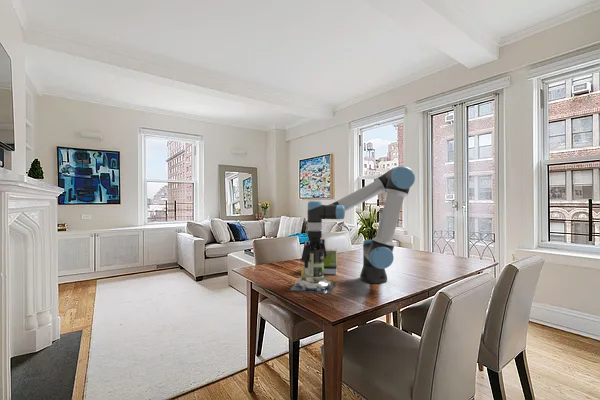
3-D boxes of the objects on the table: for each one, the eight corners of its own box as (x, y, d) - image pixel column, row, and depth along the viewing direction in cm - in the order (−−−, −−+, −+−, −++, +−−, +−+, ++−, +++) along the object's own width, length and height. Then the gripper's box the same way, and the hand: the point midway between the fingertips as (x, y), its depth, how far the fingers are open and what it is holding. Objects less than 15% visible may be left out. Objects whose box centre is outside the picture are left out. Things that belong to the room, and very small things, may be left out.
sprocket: (309, 277, 171) (309, 262, 171) (340, 283, 159) (340, 267, 159) (287, 286, 154) (287, 269, 154) (321, 293, 143) (321, 275, 142)
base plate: (336, 282, 164) (336, 281, 164) (330, 294, 144) (330, 293, 144) (300, 279, 170) (300, 278, 170) (289, 290, 150) (289, 289, 149)
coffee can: (325, 274, 161) (325, 248, 161) (322, 279, 151) (322, 251, 151) (306, 273, 163) (306, 247, 163) (302, 278, 153) (303, 250, 153)
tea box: (337, 271, 189) (337, 248, 189) (336, 275, 180) (336, 250, 179) (313, 270, 192) (313, 247, 192) (311, 274, 182) (311, 250, 182)
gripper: (323, 228, 167) (322, 267, 167) (294, 231, 151) (294, 274, 151) (333, 229, 162) (333, 269, 162) (304, 232, 146) (304, 277, 146)
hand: (314, 272), depth 157 cm, fingers closed on coffee can, 10 cm apart
